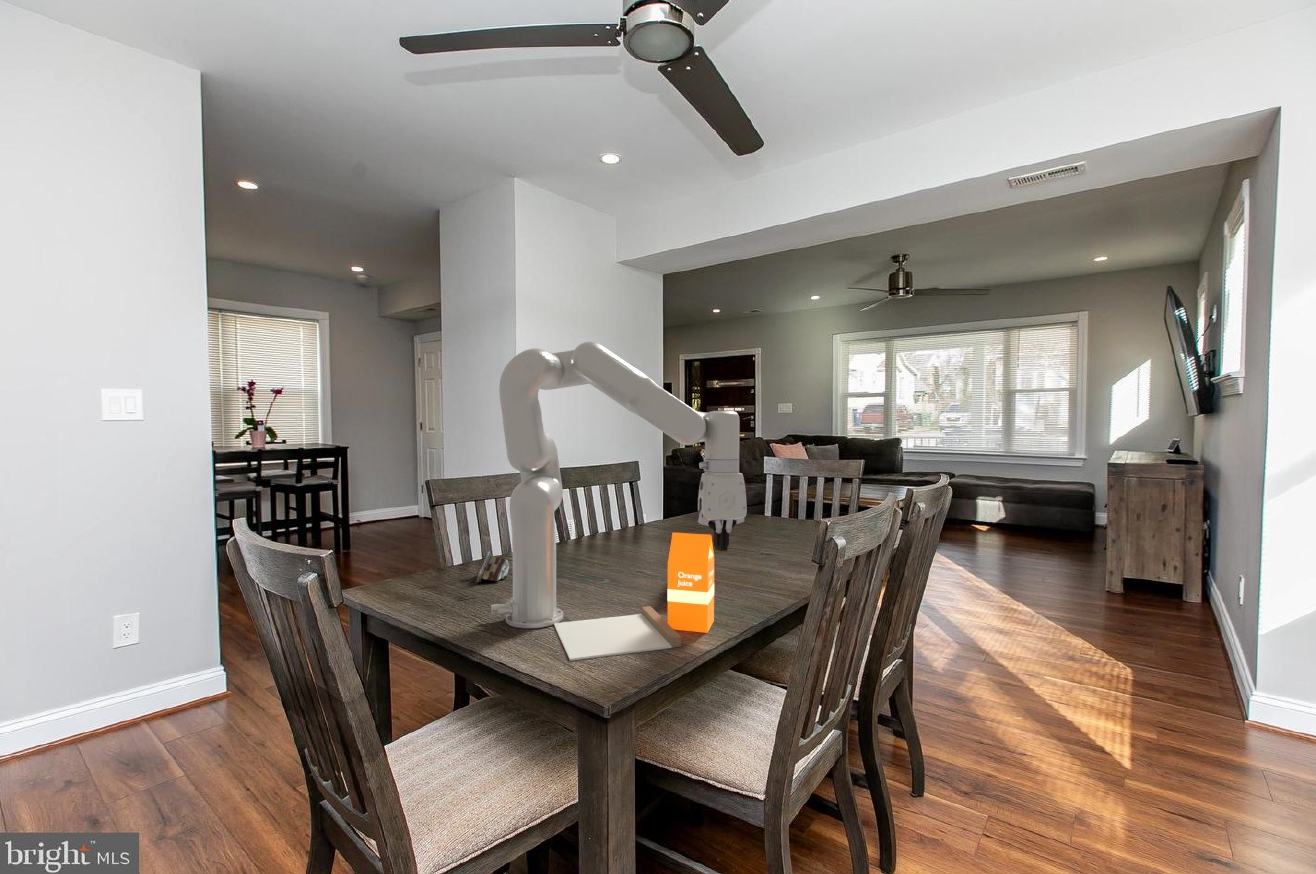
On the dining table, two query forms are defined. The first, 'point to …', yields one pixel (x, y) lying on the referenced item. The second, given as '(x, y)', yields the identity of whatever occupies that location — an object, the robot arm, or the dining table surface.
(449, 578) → the dining table surface
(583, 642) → the mat
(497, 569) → the chocolate cake
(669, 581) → the orange juice
